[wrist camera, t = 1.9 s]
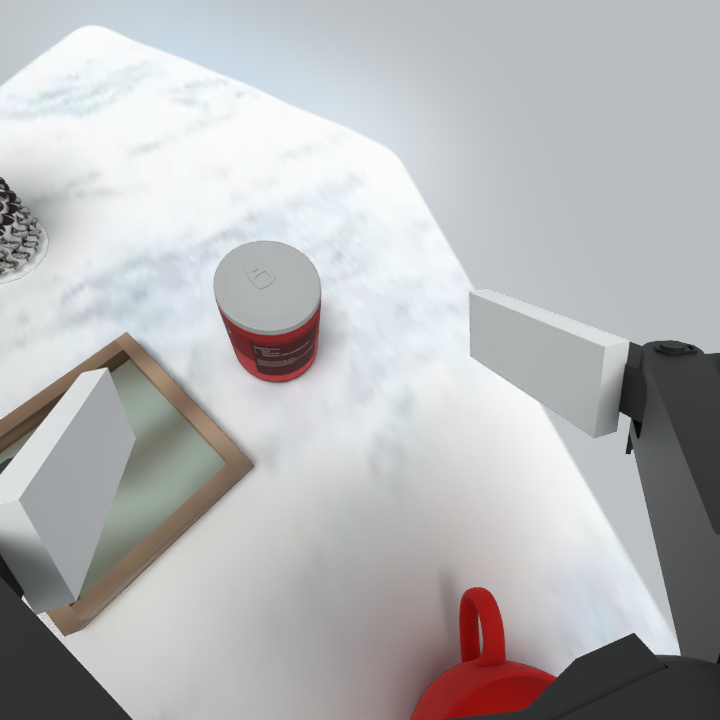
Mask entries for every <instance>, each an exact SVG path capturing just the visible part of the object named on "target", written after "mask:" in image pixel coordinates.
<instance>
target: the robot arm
mask: <svg viewBox="0 0 720 720" xmlns="http://www.w3.org/2000/svg"><path fill="white" fill-rule="evenodd" d="M469 311H470V356H471V357H472V358H474V359H475V360H477V361H478V362H480V363H481V364H483V365H484V366H486V367H487V368H489V369H490V370H492V371H493V372H495V373H496V374H498V375H499V376H501V377H502V378H504V379H505V380H507V381H508V382H510V383H511V384H513V385H514V386H516V387H517V388H519V389H520V390H522V391H523V392H525V393H526V394H528V395H529V396H531V397H532V398H534V399H535V400H537V401H538V402H540V403H542V404H543V405H545V406H546V407H548V408H549V409H551V410H552V411H554V412H555V413H557V414H558V415H560V416H561V417H563V418H564V419H566V420H567V421H569V422H570V423H572V424H573V425H575V426H576V427H578V428H579V429H581V430H582V431H584V432H585V433H587V434H588V435H590V436H591V437H593V438H597V437H600V436H603V435H607V434H610V433H613V432H616V431H617V426H618V418H619V412H621V413H623V414H625V415H627V416H629V417H631V423H630V429H629V436H628V443H627V448H626V454H631V450H632V449H634V453H635V458H636V462H637V466H638V471H639V475H640V479H641V484H642V487H643V492H644V496H645V501H646V505H647V509H648V514H649V518H650V522H651V527H652V531H653V535H654V539H655V544H656V548H657V553H658V557H659V561H660V565H661V569H662V574H663V578H664V583H665V587H666V591H667V596H668V600H669V604H670V608H671V613H672V617H673V621H674V625H675V630H676V634H677V639H678V643H679V648H680V653H681V656H677V655H654V654H653V653H652V652H651V651H650V649H649V648H648V647H647V646H646V645H645V644H644V643H643V642H642V641H641V640H640V639H639V638H638V637H637V635H636V634H635V633H633V634H630V635H628V636H626V637H624V638H622V639H619V640H617V641H615V642H613V643H610V644H608V645H606V646H604V647H601V648H599V649H597V650H595V651H592V652H590V653H588V654H586V655H583V656H581V657H579V658H577V659H575V660H574V661H573V662H572V663H571V664H570V665H569V666H568V667H567V668H566V669H565V670H564V671H563V672H562V673H561V674H560V675H559V676H558V677H557V678H556V679H555V680H554V681H553V682H552V683H551V684H550V685H549V686H548V687H547V688H546V689H545V690H544V691H543V692H542V693H541V694H540V695H539V696H538V697H537V698H536V699H535V700H534V701H533V702H532V703H531V704H530V705H529V706H528V707H527V708H525V709H523V710H520V711H515V712H505V713H496V714H486V715H477V716H467V717H458V718H448V719H440V720H720V353H714V354H704V352H703V351H702V350H700V349H699V348H698V347H696V346H694V345H690V344H686V343H682V342H679V341H672V340H670V341H654V342H649V343H646V344H645V345H643V346H640V345H637V344H635V343H632V342H630V341H629V340H626V339H624V338H621V337H618V336H616V335H613V334H610V333H607V332H604V331H602V330H599V329H596V328H594V327H591V326H588V325H585V324H583V323H580V322H577V321H574V320H572V319H569V318H566V317H563V316H560V315H558V314H555V313H552V312H549V311H547V310H544V309H541V308H539V307H536V306H533V305H530V304H528V303H525V302H522V301H519V300H516V299H514V298H511V297H508V296H505V295H503V294H500V293H497V292H494V291H492V290H489V289H482V290H477V291H472V292H469ZM135 439H136V437H135V435H134V432H133V430H132V427H131V425H130V422H129V420H128V417H127V415H126V412H125V410H124V407H123V405H122V402H121V400H120V397H119V395H118V392H117V390H116V387H115V385H114V382H113V380H112V377H111V375H110V372H109V370H108V367H107V368H102V369H97V370H93V371H88V372H83V373H81V374H80V376H79V377H78V378H77V379H76V381H75V382H74V383H73V384H72V386H71V387H70V388H69V389H68V391H67V392H66V393H65V394H64V396H63V397H62V398H61V399H60V401H59V402H58V403H57V404H56V406H55V407H54V408H53V409H52V411H51V412H50V413H49V414H48V416H47V417H46V418H45V420H44V421H43V422H42V423H41V425H40V426H39V427H38V428H37V430H36V431H35V432H34V433H33V435H32V436H31V437H30V438H29V440H28V441H27V442H26V443H25V445H24V446H23V447H22V448H21V450H20V451H19V452H18V453H17V455H16V456H15V457H13V458H8V459H7V460H5V461H4V462H2V463H1V464H0V720H132V718H131V717H130V716H129V715H128V714H127V713H126V712H125V711H124V710H123V709H122V708H121V707H120V705H119V704H118V703H117V702H116V701H115V700H114V699H113V698H112V697H111V696H110V695H109V694H108V692H107V691H106V690H105V689H104V688H103V687H102V686H101V685H100V684H99V683H98V682H97V681H96V679H95V678H94V677H93V676H92V675H91V674H90V673H89V672H88V671H87V670H86V669H85V668H84V667H83V665H82V664H81V663H80V662H79V661H78V660H77V659H76V658H75V657H74V656H73V655H72V654H71V652H70V651H69V650H68V649H67V648H66V647H65V646H64V645H63V644H62V643H61V642H60V641H59V639H58V638H57V637H56V636H55V635H54V634H53V633H52V632H51V631H50V630H49V629H48V628H47V626H46V625H45V624H44V623H43V622H42V621H41V620H40V619H39V618H38V617H37V616H36V615H35V614H39V613H42V612H45V611H48V610H52V609H55V608H58V607H61V606H64V605H67V604H71V603H74V602H77V599H78V596H79V593H80V590H81V588H82V585H83V582H84V579H85V577H86V574H87V571H88V568H89V566H90V563H91V560H92V557H93V555H94V552H95V549H96V546H97V544H98V541H99V538H100V535H101V533H102V530H103V527H104V524H105V522H106V519H107V516H108V513H109V511H110V508H111V505H112V502H113V500H114V497H115V494H116V491H117V489H118V486H119V483H120V480H121V478H122V475H123V472H124V469H125V467H126V464H127V461H128V458H129V456H130V453H131V450H132V447H133V445H134V442H135ZM23 595H24V597H25V598H26V600H27V602H28V603H29V605H30V606H31V608H32V609H33V611H34V612H33V611H32V610H31V609H30V608H29V607H28V606H27V605H26V604H25V603H24V602H23V600H22V599H21V598H22V596H23Z"/></svg>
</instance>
